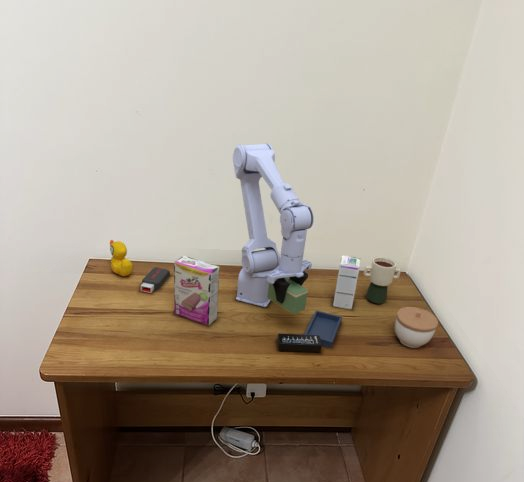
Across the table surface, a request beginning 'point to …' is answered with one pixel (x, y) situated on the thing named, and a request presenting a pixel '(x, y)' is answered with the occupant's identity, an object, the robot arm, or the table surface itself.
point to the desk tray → (324, 327)
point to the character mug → (380, 278)
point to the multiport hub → (299, 342)
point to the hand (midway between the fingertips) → (286, 298)
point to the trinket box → (415, 326)
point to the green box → (291, 297)
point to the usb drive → (154, 279)
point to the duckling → (120, 259)
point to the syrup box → (346, 282)
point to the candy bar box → (196, 290)
